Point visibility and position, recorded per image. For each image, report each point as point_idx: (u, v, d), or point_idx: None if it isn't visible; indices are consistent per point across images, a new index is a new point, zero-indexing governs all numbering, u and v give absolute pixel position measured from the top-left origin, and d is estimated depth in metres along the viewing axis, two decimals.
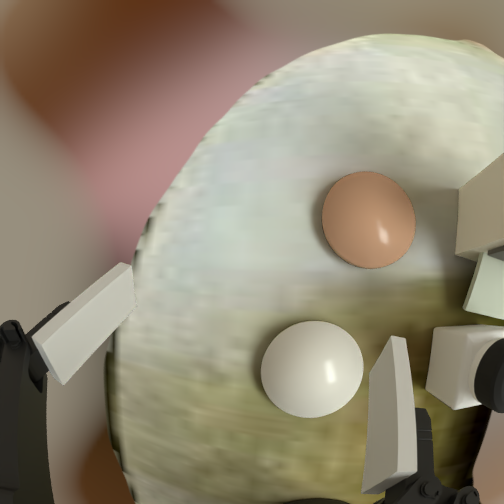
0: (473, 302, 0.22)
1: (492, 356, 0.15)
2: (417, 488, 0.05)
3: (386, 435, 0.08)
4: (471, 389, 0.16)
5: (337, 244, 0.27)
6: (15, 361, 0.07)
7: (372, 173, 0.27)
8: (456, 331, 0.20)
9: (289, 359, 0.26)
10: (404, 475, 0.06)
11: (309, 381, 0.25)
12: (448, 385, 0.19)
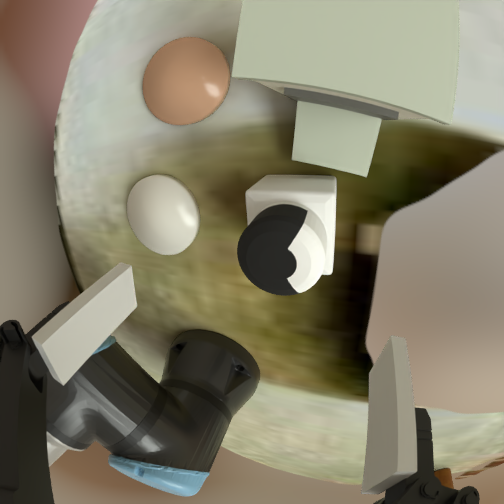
0: (301, 151, 0.24)
1: None
2: (417, 488, 0.05)
3: (386, 435, 0.08)
4: None
5: (155, 111, 0.27)
6: (15, 361, 0.07)
7: (181, 38, 0.23)
8: (254, 185, 0.24)
9: (141, 208, 0.33)
10: (404, 475, 0.06)
11: (158, 224, 0.33)
12: None
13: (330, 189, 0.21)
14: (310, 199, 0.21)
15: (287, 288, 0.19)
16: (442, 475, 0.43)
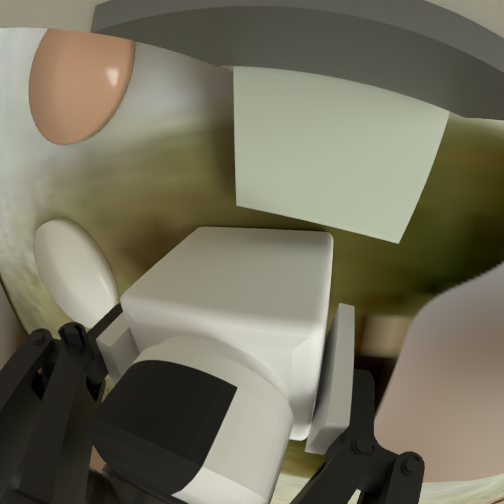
0: (254, 188, 0.11)
1: None
2: (348, 446, 0.07)
3: (325, 391, 0.09)
4: None
5: (40, 125, 0.14)
6: (73, 367, 0.08)
7: None
8: (151, 269, 0.11)
9: (48, 264, 0.20)
10: (337, 429, 0.08)
11: (69, 289, 0.20)
12: None
13: (311, 306, 0.08)
14: (255, 337, 0.08)
15: None
16: None
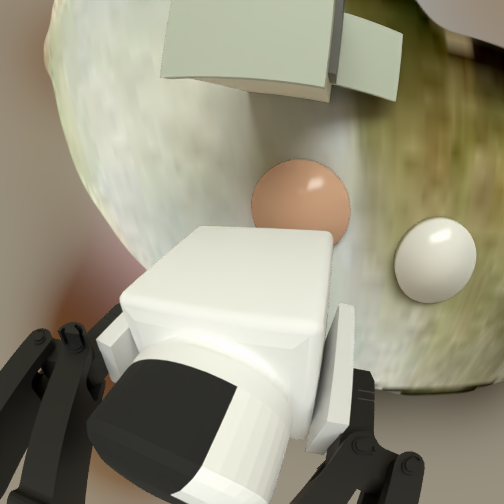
0: (386, 90, 0.20)
1: (106, 395, 0.07)
2: (348, 446, 0.07)
3: (325, 391, 0.09)
4: None
5: None
6: (73, 367, 0.08)
7: (252, 205, 0.29)
8: (150, 268, 0.11)
9: (424, 283, 0.27)
10: (337, 429, 0.08)
11: (445, 266, 0.26)
12: None
13: (311, 305, 0.08)
14: (255, 336, 0.08)
15: None
16: None
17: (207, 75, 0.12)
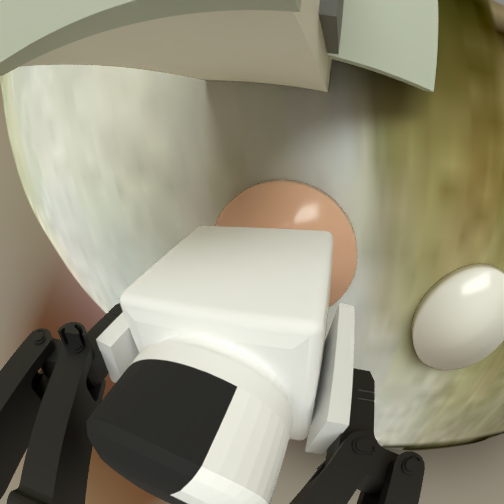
0: (420, 72, 0.11)
1: (106, 395, 0.07)
2: (348, 446, 0.07)
3: (325, 391, 0.09)
4: None
5: None
6: (73, 367, 0.08)
7: None
8: (150, 268, 0.11)
9: (448, 349, 0.18)
10: (337, 429, 0.08)
11: (477, 328, 0.17)
12: None
13: (311, 305, 0.08)
14: (255, 336, 0.08)
15: None
16: None
17: (15, 51, 0.03)
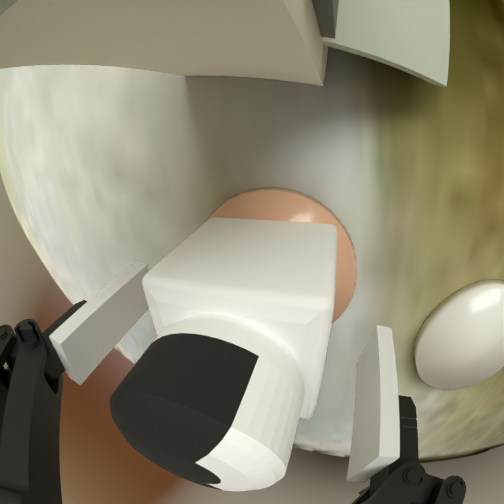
0: (431, 63, 0.09)
1: None
2: (399, 475, 0.06)
3: (370, 421, 0.08)
4: None
5: None
6: (31, 361, 0.07)
7: None
8: (169, 254, 0.12)
9: (453, 369, 0.16)
10: (387, 461, 0.06)
11: (485, 348, 0.15)
12: None
13: (322, 285, 0.09)
14: (272, 312, 0.09)
15: (211, 487, 0.07)
16: None
17: None
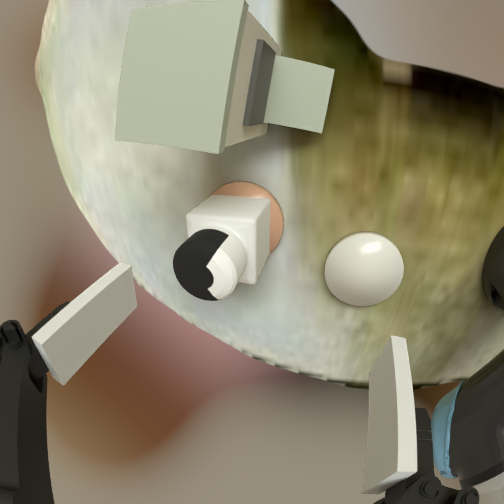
0: (313, 124, 0.26)
1: None
2: (417, 488, 0.05)
3: (386, 435, 0.08)
4: None
5: None
6: (15, 361, 0.07)
7: None
8: (196, 207, 0.29)
9: (352, 288, 0.34)
10: (404, 475, 0.06)
11: (371, 275, 0.33)
12: None
13: (253, 216, 0.27)
14: (235, 224, 0.26)
15: (209, 295, 0.25)
16: None
17: (144, 142, 0.18)
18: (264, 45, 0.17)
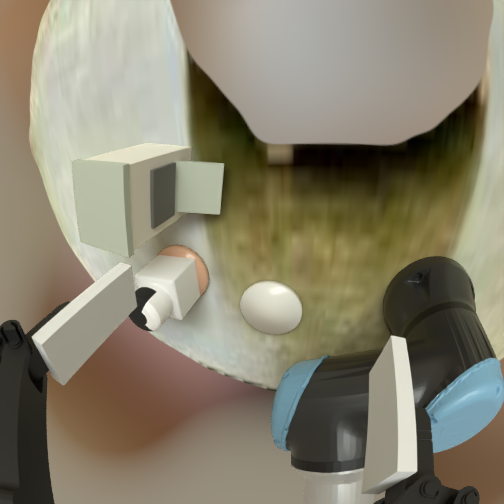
0: (212, 208, 0.39)
1: None
2: (417, 488, 0.05)
3: (386, 435, 0.08)
4: None
5: None
6: (15, 361, 0.07)
7: None
8: (143, 268, 0.42)
9: (264, 321, 0.46)
10: (404, 475, 0.06)
11: (276, 312, 0.45)
12: None
13: (173, 277, 0.39)
14: (162, 283, 0.39)
15: (147, 328, 0.38)
16: None
17: (94, 246, 0.31)
18: (156, 172, 0.31)
